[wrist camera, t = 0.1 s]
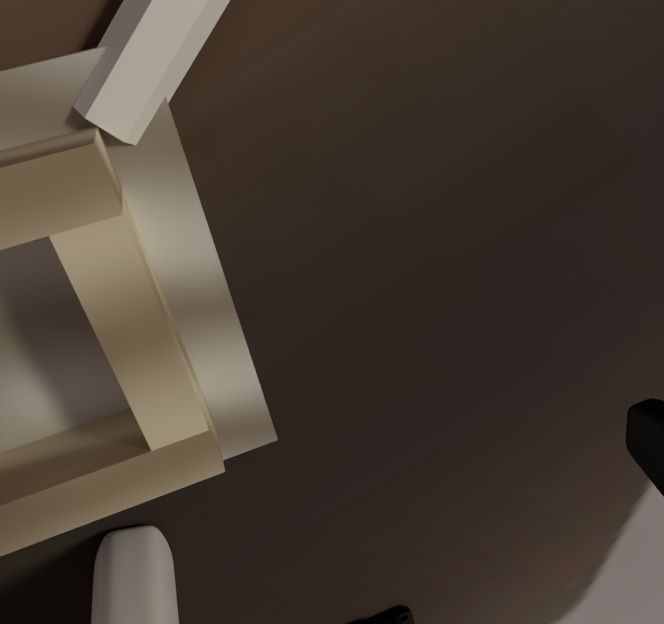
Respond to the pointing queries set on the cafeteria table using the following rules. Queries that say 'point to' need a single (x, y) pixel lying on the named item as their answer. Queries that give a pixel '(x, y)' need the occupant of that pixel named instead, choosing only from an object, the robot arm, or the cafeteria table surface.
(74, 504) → the collar block
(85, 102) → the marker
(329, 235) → the cafeteria table surface
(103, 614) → the eye dropper bottle
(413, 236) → the cafeteria table surface
